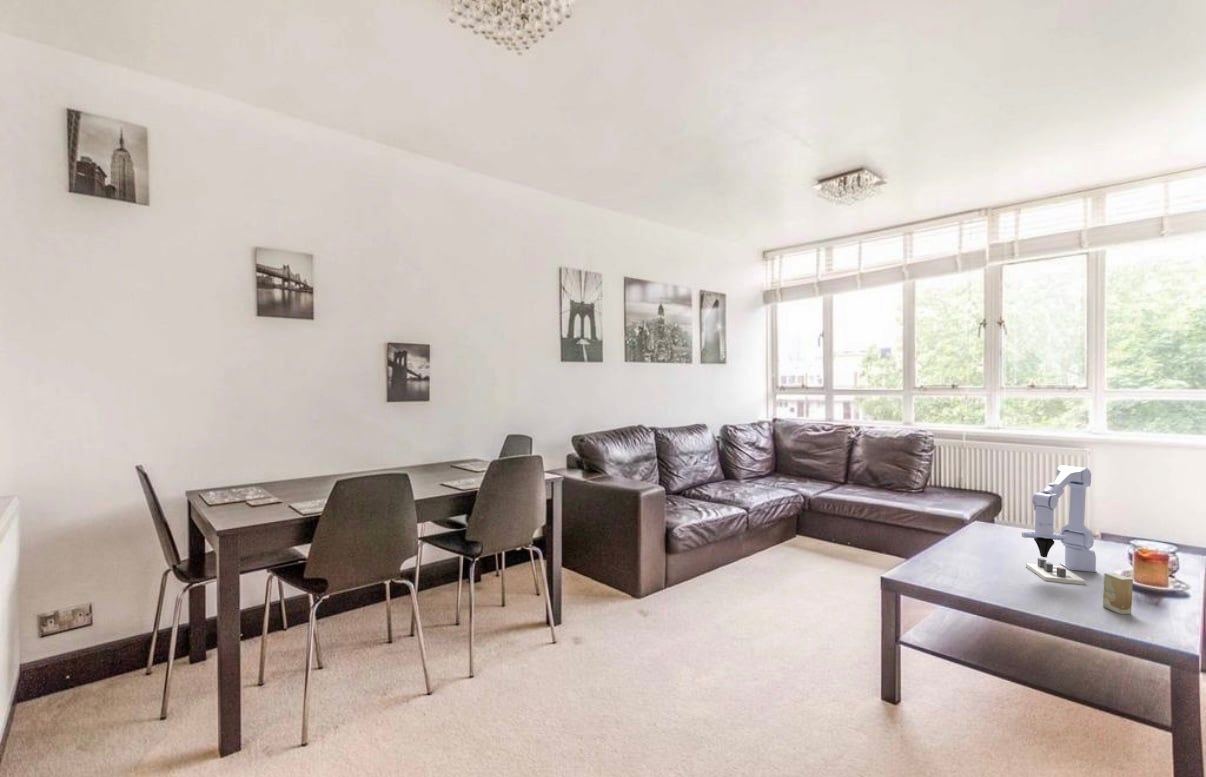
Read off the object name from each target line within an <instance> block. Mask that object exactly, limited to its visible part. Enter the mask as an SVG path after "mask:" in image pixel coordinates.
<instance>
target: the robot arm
mask: <svg viewBox="0 0 1206 777" xmlns="http://www.w3.org/2000/svg"><path fill="white" fill-rule="evenodd" d="M1091 483H1092V472H1091V470H1090V469H1089V468H1088V467H1079V466H1070V465H1064V464H1061V465H1059V466H1057V468H1056V478H1055V479H1054V481H1053V482H1049V483H1047V484H1046V486H1045V487H1044V488H1043V489H1042V490H1041V491H1040V492H1036V493H1034V494H1033V496H1032V506H1033V511H1035V517H1034V518H1035V520H1034V521H1035V522H1034V531H1021V538H1024V539H1027V538H1029V539H1030V538H1031V539H1033V540H1034V542H1035V544H1036V545H1037V548H1038V550H1039V555H1040V557H1042V558H1048V555H1049V552H1050V549H1051V548H1052V547H1053V546H1054V545H1055V541H1059V542H1060V543H1061V544H1063V546H1064V562H1060V563H1059V564H1060V565H1061V566H1062V567H1064V568H1065V569H1067V570H1069V571H1080V572H1081V571H1082V572H1093V573H1097V572H1098V571H1097V570H1096V568H1097V554H1096V553H1095V550H1094V549H1093V546H1094V541H1095V540H1094V536H1093V535H1094V532H1093V530H1091V529H1090V528H1088V527H1087V526H1086V525H1085V515H1086V514H1085V511H1086V494H1087V493H1086V491H1087V488H1089V487H1091ZM1067 486H1068V487H1070V490H1069V491H1070V492H1069V495H1070V496H1069V509H1068V510H1069V511H1068V512H1069V513H1068V523H1067V524H1065V525H1063V526H1062V527H1061V528H1060V530H1061V531H1060V534H1057V533H1054V526H1055V525H1054V522H1055V521H1054V520H1055V519H1054V517H1055V509H1056V508H1057V505H1058V503H1059V499H1060V497H1061V496H1062V495H1063V494H1064V488H1065V487H1067Z"/></svg>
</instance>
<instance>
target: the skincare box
mask: <svg viewBox="0 0 1206 777" xmlns="http://www.w3.org/2000/svg"><path fill="white" fill-rule="evenodd" d="M1103 574H1104V575H1103V576H1104V578H1103V591H1102V592H1103V595H1102V607H1103V608H1106V609H1108V610H1110V611H1112V612H1115V613H1117V614H1119V615H1131V614H1132V608H1133V607H1132V603H1133V587H1134V585H1133V584H1134V579H1133V578H1130V577H1127V576H1125V575H1122V574H1119V573H1116V572H1104V573H1103Z"/></svg>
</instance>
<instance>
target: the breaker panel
mask: <svg viewBox="0 0 1206 777" xmlns="http://www.w3.org/2000/svg"><path fill="white" fill-rule="evenodd" d="M1025 567H1026V568H1027V570H1028V569H1029V570H1030V571H1031V572H1032V573H1033V574H1035V573H1036V575H1037V576H1038V577H1040V578H1041V579H1042V578H1043V579H1042V580H1044V581H1046V582H1056V583H1066V584H1077V585H1086V580H1085V579H1083V578H1081V577H1080V576H1079V575H1077V574H1075V573H1074V572H1072V571H1071V570H1070V569H1068V568H1066V567H1065V566H1062V565H1061V566H1058V565H1054V564H1053V563H1051V562H1047V560H1046V559H1045V558H1044V557H1042V558H1040V557H1037V563H1025ZM1057 567H1062V568H1064V569H1066V577H1060V576H1058V575H1057Z"/></svg>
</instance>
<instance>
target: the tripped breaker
mask: <svg viewBox="0 0 1206 777" xmlns="http://www.w3.org/2000/svg"><path fill="white" fill-rule="evenodd" d="M1062 567H1063V566H1061V567H1057V575H1058V576H1060V577H1066V569H1067V568H1065V567H1064V568H1065V569H1064V568H1062Z"/></svg>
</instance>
